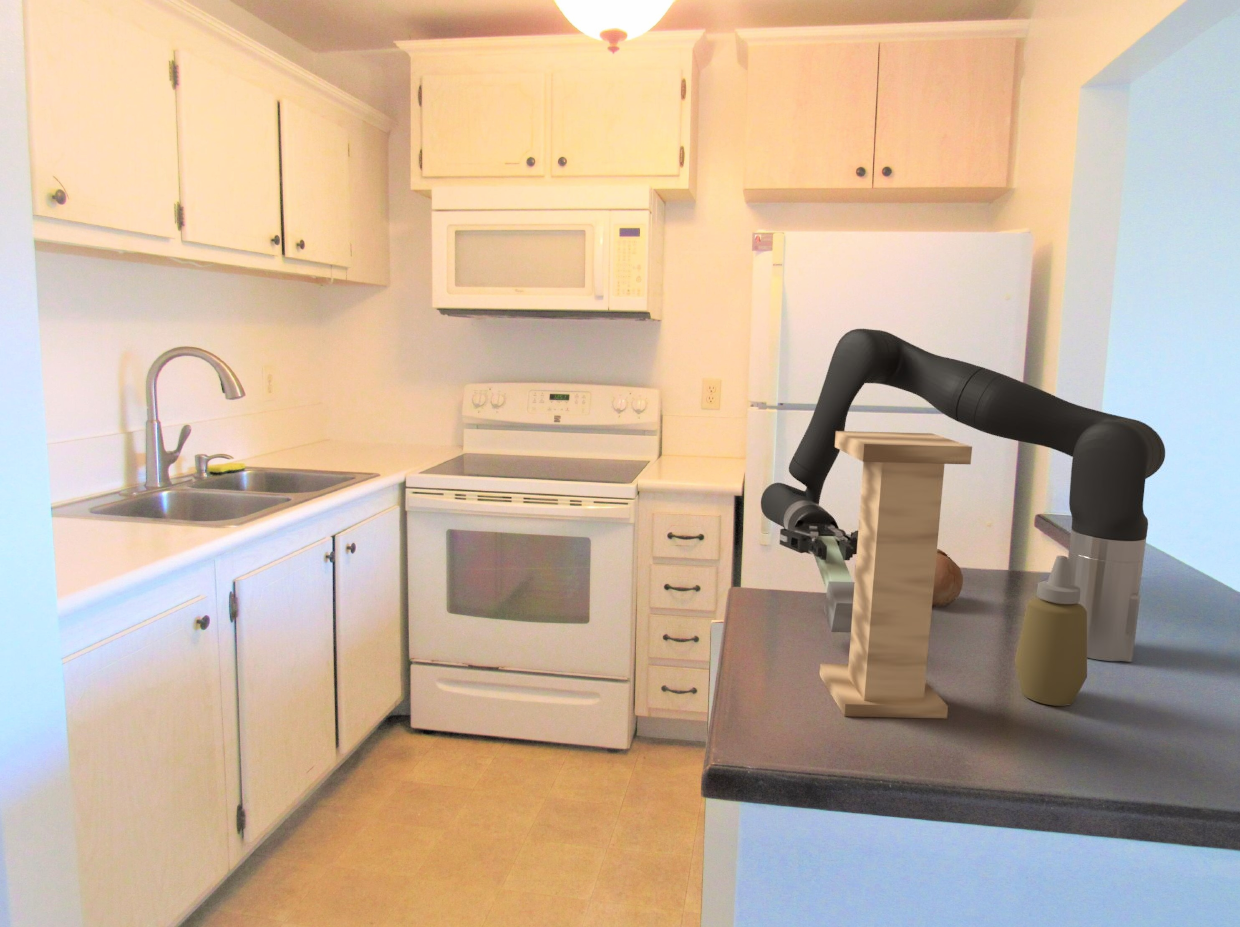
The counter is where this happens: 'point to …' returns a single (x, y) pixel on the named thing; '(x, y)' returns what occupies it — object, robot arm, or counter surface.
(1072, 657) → the squeeze bottle
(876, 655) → the stand
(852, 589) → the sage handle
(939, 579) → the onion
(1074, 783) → the counter surface
